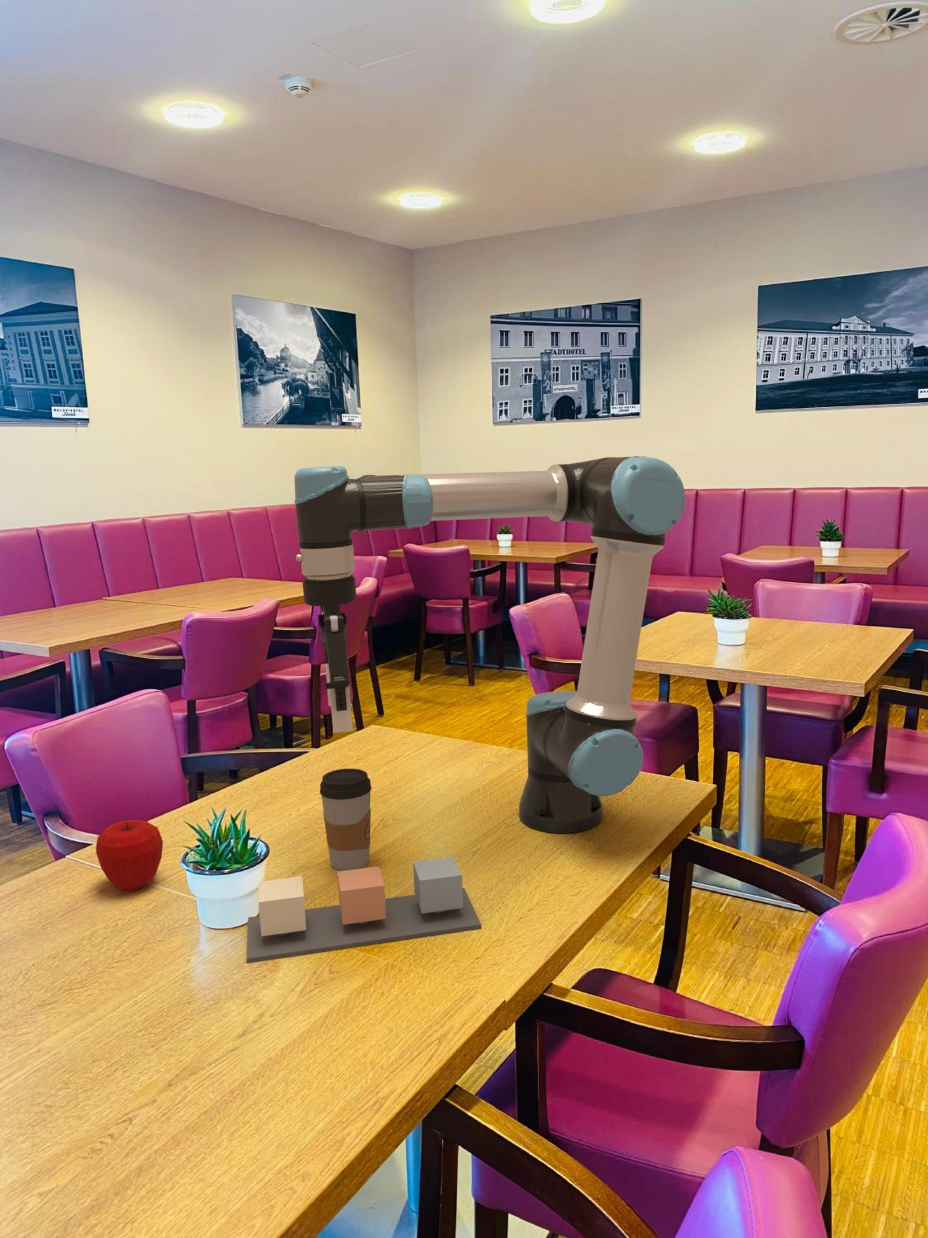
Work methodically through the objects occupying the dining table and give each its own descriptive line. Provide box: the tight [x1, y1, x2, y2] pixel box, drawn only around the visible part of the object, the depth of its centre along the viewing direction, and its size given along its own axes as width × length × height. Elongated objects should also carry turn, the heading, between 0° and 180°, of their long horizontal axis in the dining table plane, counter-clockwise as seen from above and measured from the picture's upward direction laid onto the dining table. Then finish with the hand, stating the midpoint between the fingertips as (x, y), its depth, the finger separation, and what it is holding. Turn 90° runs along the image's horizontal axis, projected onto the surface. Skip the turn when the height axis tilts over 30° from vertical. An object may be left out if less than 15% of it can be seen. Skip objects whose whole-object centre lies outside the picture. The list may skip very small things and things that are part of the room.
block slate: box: [412, 856, 463, 914], centre depth 127 cm, size 6×6×5 cm
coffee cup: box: [319, 768, 372, 871], centre depth 143 cm, size 8×8×15 cm
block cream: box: [258, 875, 306, 936], centre depth 122 cm, size 6×6×5 cm
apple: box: [95, 819, 164, 892], centre depth 138 cm, size 10×10×11 cm
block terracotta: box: [336, 866, 386, 925], centre depth 124 cm, size 6×6×5 cm
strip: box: [246, 887, 482, 964], centre depth 125 cm, size 32×11×2 cm, turn 103°
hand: (340, 717), depth 130 cm, fingers open, 13 cm apart
